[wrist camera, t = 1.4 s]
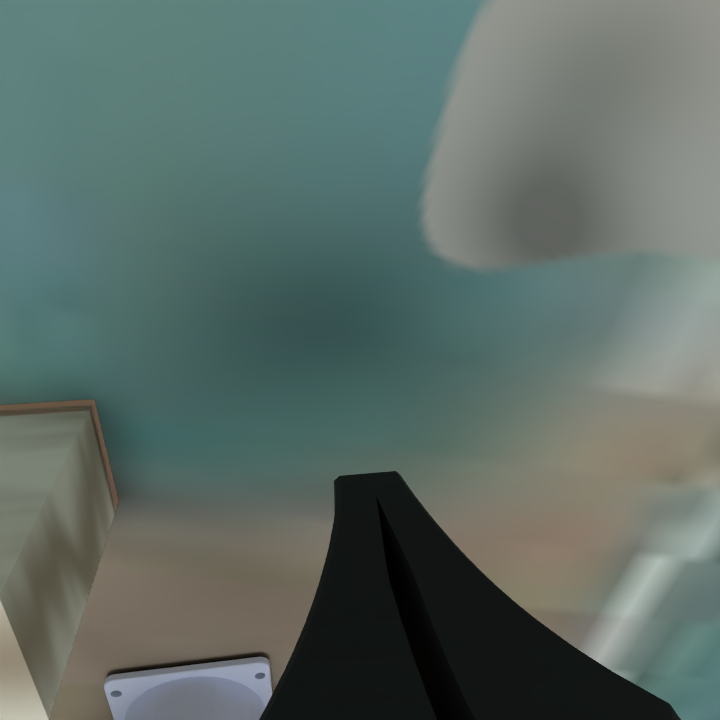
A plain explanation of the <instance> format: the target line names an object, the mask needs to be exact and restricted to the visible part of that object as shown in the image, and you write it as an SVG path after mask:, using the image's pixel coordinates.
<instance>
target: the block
mask: <svg viewBox="0 0 720 720" xmlns="http://www.w3.org/2000/svg"><path fill="white" fill-rule="evenodd" d="M118 503H119V501H118V497H117V492H116V488H115V484H114V480H113V476H112V471H111V467H110V463H109V459H108V455H107V450H106V446H105V442H104V438H103V434H102V429H101V425H100V421H99V417H98V413H97V408H96V404H95V400H94V399H89V400H73V401H57V402H41V403H25V404H9V405H0V720H49V718H50V715H51V712H52V709H53V706H54V703H55V699H56V696H57V693H58V690H59V687H60V684H61V681H62V678H63V674H64V671H65V668H66V665H67V662H68V659H69V656H70V653H71V650H72V646H73V643H74V640H75V637H76V634H77V631H78V628H79V625H80V621H81V618H82V615H83V612H84V609H85V606H86V603H87V600H88V596H89V593H90V590H91V587H92V584H93V581H94V578H95V575H96V571H97V568H98V565H99V562H100V559H101V556H102V553H103V550H104V546H105V543H106V540H107V537H108V534H109V531H110V528H111V525H112V521H113V518H114V515H115V512H116V509H117V506H118Z"/></svg>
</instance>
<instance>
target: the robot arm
mask: <svg viewBox="0 0 720 720" xmlns="http://www.w3.org/2000/svg"><path fill="white" fill-rule="evenodd" d="M334 495H335V516H334V524H333V529H332V534H331V539H330V544H329V549H328V553H327V557H326V561H325V564H324V568H323V572H322V575H321V579H320V582H319V586H318V589H317V592H316V595H315V598H314V601H313V603H312V606H311V609H310V612H309V614H308V617H307V620H306V622H305V625H304V627H303V630H302V632H301V635H300V637H299V639H298V642H297V644H296V646H295V649H294V651H293V653H292V656H291V658H290V660H289V662H288V664H287V666H286V669H285V671H284V673H283V675H282V677H281V678H280V680H279V682H278V684H277V686H276V688H275V690H274V692H273V694H272V683H271V673H270V662H269V660H268V659H267V658H265V657H252V658H244V659H236V660H228V661H219V662H211V663H203V664H195V665H186V666H178V667H170V668H161V669H153V670H145V671H137V672H128V673H120V674H113V675H110V676H108V677H107V678H106V679H105V683H104V690H105V693H106V696H107V700H108V703H109V706H110V709H111V712H112V716H113V719H114V720H681V719H680V718H679V716H678V715H677V714H676V712H675V711H674V709H673V708H672V707H671V705H670V704H669V703H667V702H665V701H664V700H662V699H660V698H658V697H656V696H655V695H653V694H651V693H649V692H648V691H646V690H644V689H642V688H640V687H639V686H637V685H635V684H633V683H632V682H630V681H628V680H626V679H624V678H623V677H621V676H619V675H617V674H616V673H614V672H612V671H611V670H609V669H607V668H606V667H604V666H603V665H601V664H600V663H598V662H596V661H595V660H593V659H592V658H590V657H589V656H587V655H586V654H584V653H582V652H581V651H579V650H578V649H576V648H575V647H573V646H572V645H570V644H569V643H568V642H566V641H565V640H564V639H562V638H561V637H560V636H558V635H557V634H555V633H554V632H553V631H551V630H550V629H549V628H547V627H546V626H544V625H543V624H542V623H540V622H539V621H538V620H536V619H535V618H534V617H532V616H531V615H530V614H529V613H528V612H526V611H525V610H524V609H523V608H521V607H520V606H519V605H518V604H517V603H515V602H514V601H513V600H512V599H511V598H510V597H508V596H507V595H506V594H505V593H504V592H503V591H502V590H500V589H499V588H498V587H497V586H496V585H495V584H494V583H493V582H492V581H491V580H490V579H488V578H487V577H486V576H485V575H484V574H483V573H482V572H481V571H480V570H479V569H478V568H477V567H476V566H475V565H474V564H473V563H472V562H471V561H470V560H469V559H468V558H467V557H466V556H465V555H464V553H463V552H462V551H461V550H460V549H459V548H458V547H457V546H456V545H455V544H454V543H453V542H452V540H451V539H450V538H449V537H448V536H447V535H446V533H445V532H444V531H443V530H442V529H441V528H440V527H439V525H438V524H437V523H436V522H435V521H434V519H433V518H432V517H431V516H430V515H429V513H428V512H427V511H426V510H425V508H424V507H423V506H422V504H421V503H420V502H419V501H418V499H417V498H416V497H415V495H414V494H413V493H412V491H411V490H410V488H409V487H408V486H407V484H406V483H405V481H404V480H403V478H402V477H401V475H400V474H398V473H397V472H396V471H392V472H380V473H368V474H357V475H345V476H339V477H338V478H337V479H336V480H335V481H334Z"/></svg>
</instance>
